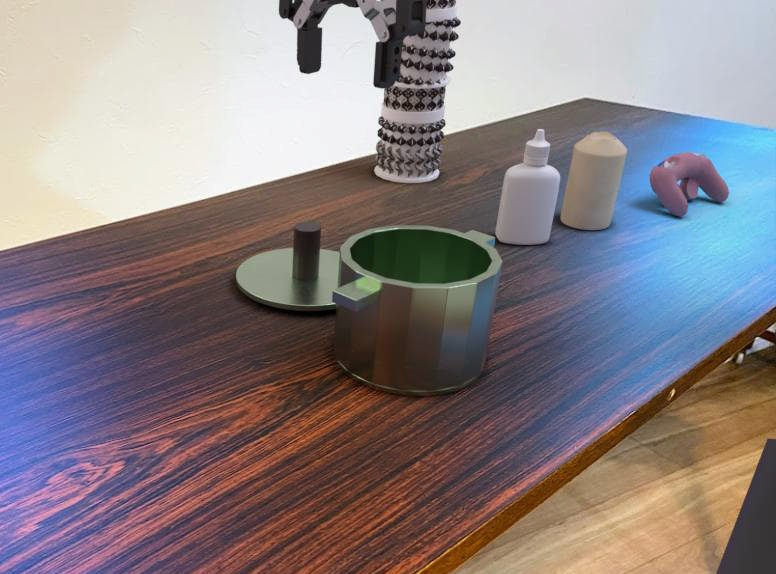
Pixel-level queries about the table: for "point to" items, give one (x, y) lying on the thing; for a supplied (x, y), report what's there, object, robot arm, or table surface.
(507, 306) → the table surface
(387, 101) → the bracelet display stand
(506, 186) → the eye dropper bottle
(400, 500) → the table surface
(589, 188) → the candle
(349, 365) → the pot
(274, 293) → the lid
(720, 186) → the video game controller
